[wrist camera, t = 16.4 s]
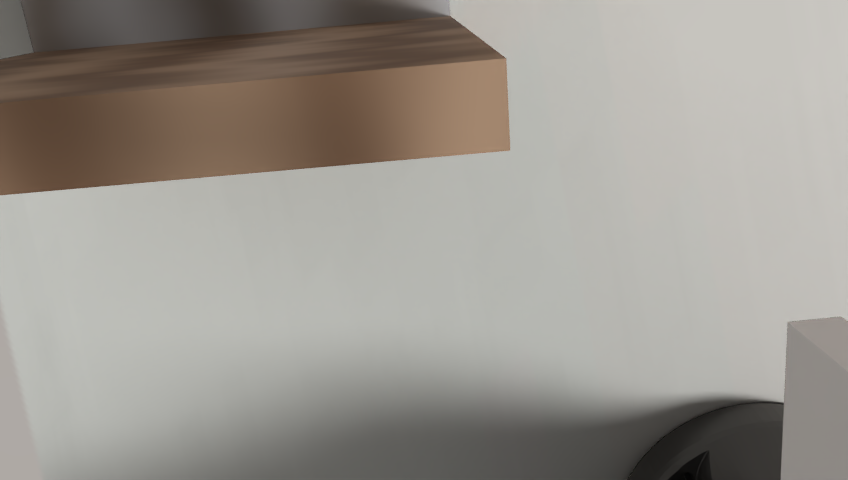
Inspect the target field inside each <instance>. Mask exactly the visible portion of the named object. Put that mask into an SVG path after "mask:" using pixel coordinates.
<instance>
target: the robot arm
mask: <svg viewBox="0 0 848 480" xmlns="http://www.w3.org/2000/svg"><path fill="white" fill-rule="evenodd" d="M628 480H848V321H846V320H845V319H844V318H842V317H831V318H822V319H812V320H802V321H792V322H788V324H787V347H786V369H785V392H784V405H782V404H772V403H754V404H743V405H737V406H731V407H727V408H723V409H719V410H716V411H713V412H710V413H707V414H705V415H702V416H700V417H698V418H695V419H693V420H691V421H689V422H687V423H685V424H684V425H682V426H680V427H679V428H677V429H675V430H674V431H672V432H671V433H670V434H668V435H667V436H665V437H664V438H663V439H662V440H660V441H659V442H658V443H657V444H656V445H655V446H654V447H653V448H652V449H651V450H650V451H649V452H648V453H647V454H646V455H645V456H644V457H643V458H642V460H641V461H640V462H639V463H638V465H637V466H636V468H635V469H634V470H633V472H632V474H631V475H630V477H629V479H628Z"/></svg>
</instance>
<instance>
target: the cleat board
mask: <svg viewBox="0 0 848 480" xmlns="http://www.w3.org/2000/svg"><path fill="white" fill-rule="evenodd" d="M21 3H22V7H23V11H24V15H25V19H26V23H27V27H28V31H29V35H30V39H31V43H32V47H33V51H34V53H29V54H24V55H19V56H14V57H9V58H4V59H0V195H8V194H19V193H31V192H42V191H53V190H65V189H76V188H88V187H99V186H110V185H122V184H133V183H145V182H156V181H167V180H179V179H190V178H202V177H213V176H224V175H236V174H247V173H259V172H270V171H281V170H293V169H304V168H315V167H327V166H338V165H350V164H361V163H372V162H384V161H395V160H407V159H418V158H429V157H441V156H452V155H464V154H475V153H486V152H498V151H509V150H510V135H509V113H508V90H507V68H506V58H505V57H504V56H502V55H501V54H500V53H498V52H497V51H496V50H494V49H493V48H492V47H490V46H489V45H488V44H486V43H485V42H484V41H482V40H481V39H480V38H478V37H477V36H476V35H475V34H473V33H472V32H471V31H469V30H468V29H467V28H465V27H464V26H463V25H461V24H460V23H459V22H457V21H456V20H455V19H453V18H452V17H451V16H450V7H449V0H21Z"/></svg>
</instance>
